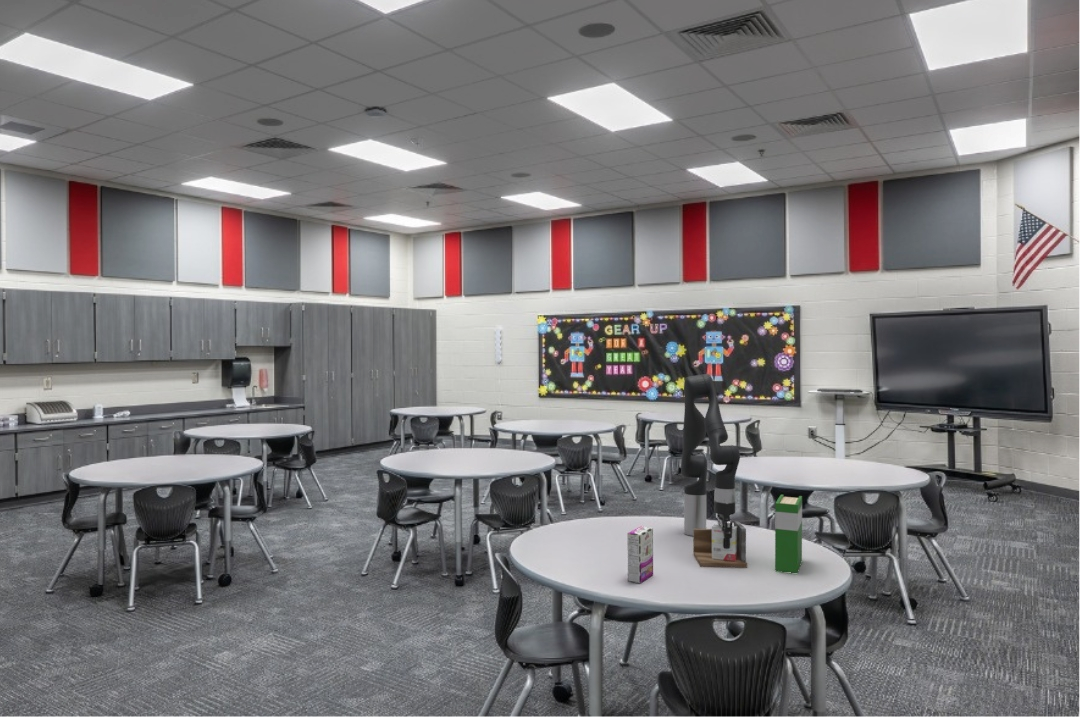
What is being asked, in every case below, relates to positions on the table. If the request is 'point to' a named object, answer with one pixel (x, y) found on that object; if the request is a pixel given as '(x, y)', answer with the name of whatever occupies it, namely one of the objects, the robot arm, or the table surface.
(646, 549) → the candy bar box
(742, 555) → the wooden book holder
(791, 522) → the hardback book
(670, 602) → the table surface
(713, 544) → the ink box
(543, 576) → the table surface
